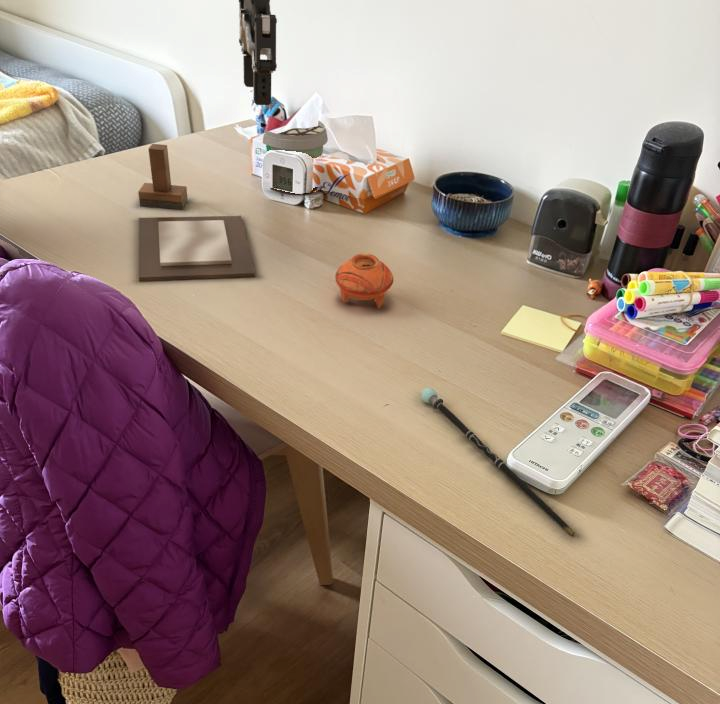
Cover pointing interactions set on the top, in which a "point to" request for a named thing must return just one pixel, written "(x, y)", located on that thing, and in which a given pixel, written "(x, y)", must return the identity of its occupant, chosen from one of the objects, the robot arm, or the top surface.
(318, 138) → the food container
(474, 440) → the black stick
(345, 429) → the top surface
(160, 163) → the brown t-shaped stand
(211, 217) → the tile board
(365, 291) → the pot
